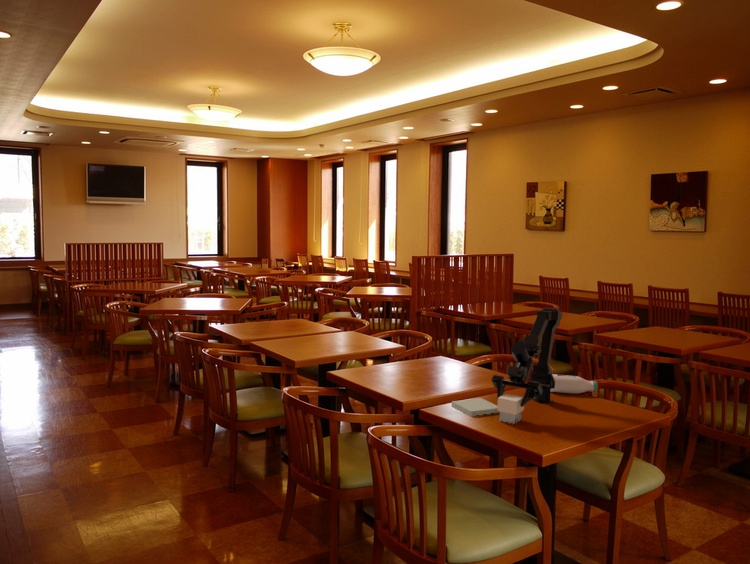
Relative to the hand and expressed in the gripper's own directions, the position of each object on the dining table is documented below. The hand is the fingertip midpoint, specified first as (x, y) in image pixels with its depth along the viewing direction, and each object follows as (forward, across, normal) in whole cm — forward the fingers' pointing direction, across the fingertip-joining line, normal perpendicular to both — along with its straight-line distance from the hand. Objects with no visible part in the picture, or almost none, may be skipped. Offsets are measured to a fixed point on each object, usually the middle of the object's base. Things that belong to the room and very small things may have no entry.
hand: (509, 403), depth 227 cm
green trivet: (+1, -16, +9) cm, 19 cm away
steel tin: (+4, 0, +6) cm, 7 cm away
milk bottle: (-34, -3, +38) cm, 51 cm away
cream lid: (+1, 0, +3) cm, 3 cm away
